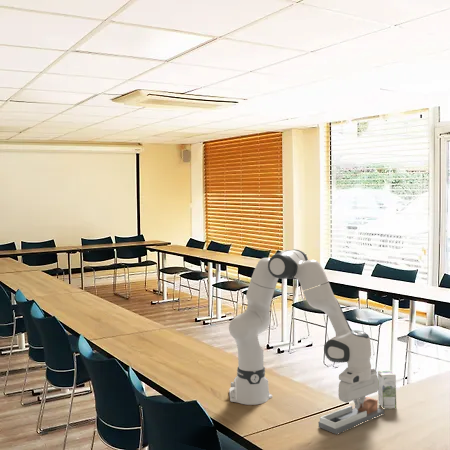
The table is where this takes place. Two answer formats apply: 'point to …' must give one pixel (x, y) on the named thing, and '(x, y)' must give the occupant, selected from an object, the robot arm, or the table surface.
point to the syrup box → (387, 389)
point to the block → (369, 405)
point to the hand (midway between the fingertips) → (359, 407)
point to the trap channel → (345, 419)
